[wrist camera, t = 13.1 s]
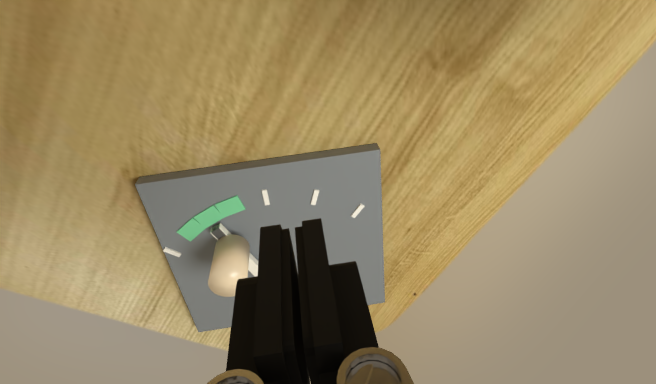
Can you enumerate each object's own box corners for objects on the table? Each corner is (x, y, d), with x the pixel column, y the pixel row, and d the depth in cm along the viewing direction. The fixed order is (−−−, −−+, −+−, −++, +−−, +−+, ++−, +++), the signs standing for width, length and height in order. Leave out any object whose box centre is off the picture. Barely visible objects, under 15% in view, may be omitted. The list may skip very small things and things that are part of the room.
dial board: (376, 143, 39) (380, 150, 38) (382, 293, 51) (385, 303, 50) (139, 177, 38) (134, 185, 37) (200, 322, 50) (198, 333, 49)
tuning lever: (307, 298, 48) (311, 340, 42) (283, 310, 48) (283, 353, 43) (229, 216, 40) (223, 255, 35) (202, 232, 41) (191, 273, 35)
